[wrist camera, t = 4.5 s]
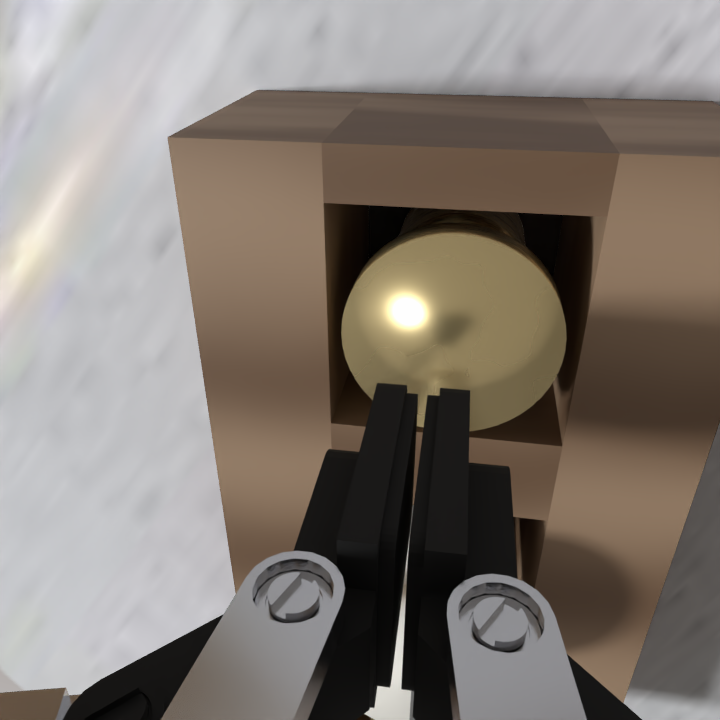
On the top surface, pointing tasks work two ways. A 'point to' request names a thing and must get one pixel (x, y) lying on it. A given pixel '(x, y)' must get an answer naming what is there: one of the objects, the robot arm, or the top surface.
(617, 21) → the top surface
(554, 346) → the brass knob
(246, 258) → the block
